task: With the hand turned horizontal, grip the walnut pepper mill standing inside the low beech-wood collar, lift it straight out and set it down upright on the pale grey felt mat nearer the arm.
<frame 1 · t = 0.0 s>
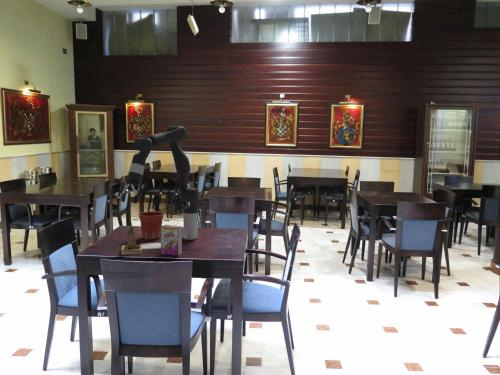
hand: (128, 202, 224), 31 cm above the table, tool tilted 20°, fingers open, 8 cm apart
collar: (131, 251, 244), on the table
pepper mill: (131, 239, 243), in the collar
flower pot: (151, 237, 278), on the table
candy bar box: (171, 254, 240), on the table
mat: (151, 246, 256), on the table
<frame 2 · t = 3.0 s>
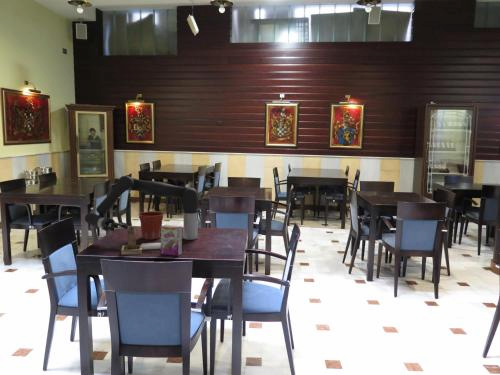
hand: (120, 228, 250), 12 cm above the table, tool horizontal, fingers open, 8 cm apart
nothing on the table moved.
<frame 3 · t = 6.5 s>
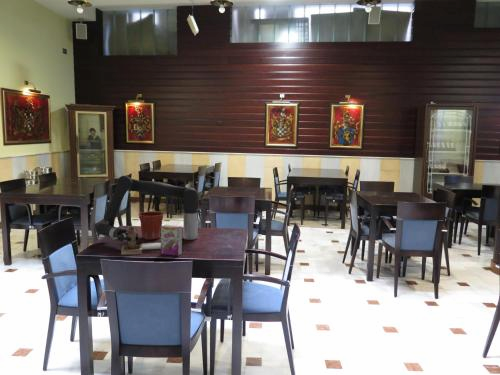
hand: (134, 238, 241), 8 cm above the table, tool horizontal, fingers closed on pepper mill, 4 cm apart
pepper mill: (131, 239, 243), in the collar, touching gripper
everything else where it was.
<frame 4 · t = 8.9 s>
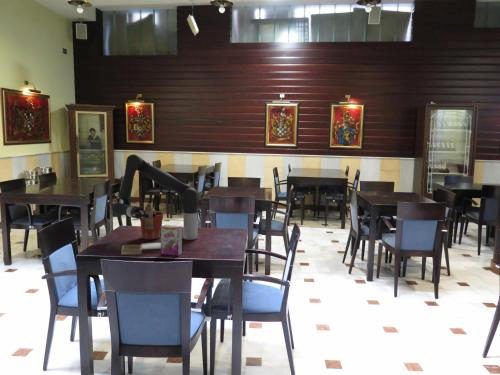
hand: (151, 215, 250), 20 cm above the table, tool horizontal, fingers closed on pepper mill, 4 cm apart
pepper mill: (149, 216, 252), point 19 cm above the table, touching gripper
everything else where it was.
when the fingers open (10 cm above the table, at t = 11.4 s): pepper mill drops 1 cm, resting on mat.
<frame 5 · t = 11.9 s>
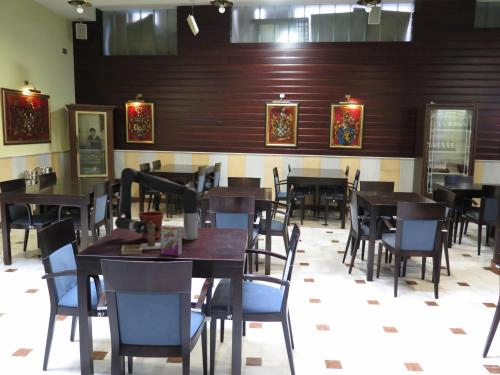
hand: (153, 230, 254), 10 cm above the table, tool horizontal, fingers open, 8 cm apart
pepper mill: (151, 233, 255), on the mat, point 8 cm above the table
everything else where it was.
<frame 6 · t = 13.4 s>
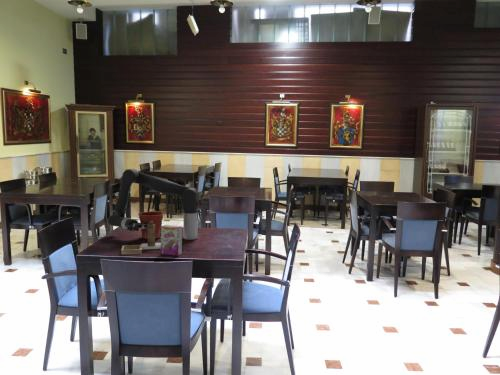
hand: (144, 228, 259), 10 cm above the table, tool horizontal, fingers open, 8 cm apart
flower pot: (151, 237, 278), on the table, touching hand
everything else where it was.
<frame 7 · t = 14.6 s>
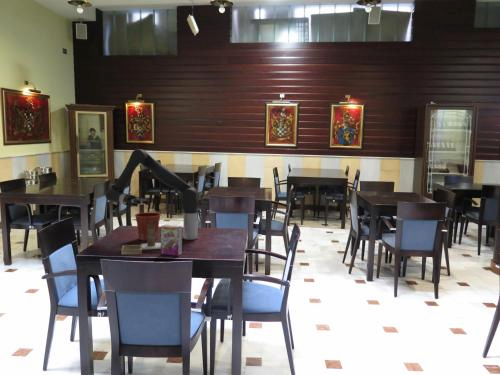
hand: (143, 204, 258), 25 cm above the table, tool horizontal, fingers open, 8 cm apart
flower pot: (148, 239, 275), on the table
everything else where it was.
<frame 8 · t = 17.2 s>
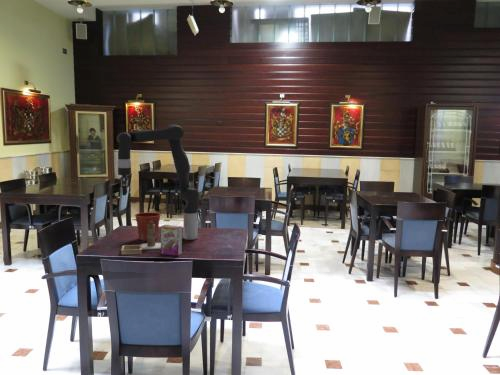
hand: (124, 194, 250), 32 cm above the table, tool pointing down, fingers open, 8 cm apart
nothing on the table moved.
at the end: pepper mill inside the target area (0.1 cm from its centre), point 8.1 cm above the table; pepper mill tilted 0°; the gripper is holding nothing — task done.
